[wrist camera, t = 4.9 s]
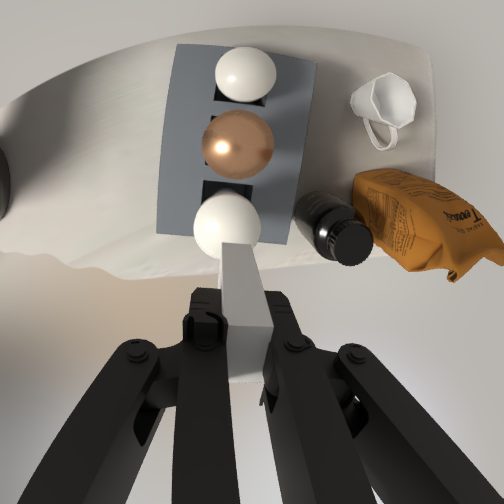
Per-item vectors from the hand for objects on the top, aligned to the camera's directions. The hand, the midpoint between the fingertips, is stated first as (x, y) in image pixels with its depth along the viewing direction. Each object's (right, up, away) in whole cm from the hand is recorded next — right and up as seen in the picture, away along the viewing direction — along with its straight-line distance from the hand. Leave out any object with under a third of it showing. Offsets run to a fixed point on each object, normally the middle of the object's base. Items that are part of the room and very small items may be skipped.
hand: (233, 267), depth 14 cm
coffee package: (+21, +9, +23) cm, 33 cm away
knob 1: (0, +19, +13) cm, 23 cm away
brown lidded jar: (-1, +12, +12) cm, 17 cm away
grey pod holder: (-2, +15, +18) cm, 23 cm away
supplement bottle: (+10, +6, +23) cm, 26 cm away
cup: (+17, +20, +18) cm, 31 cm away
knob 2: (-2, +6, +14) cm, 16 cm away
